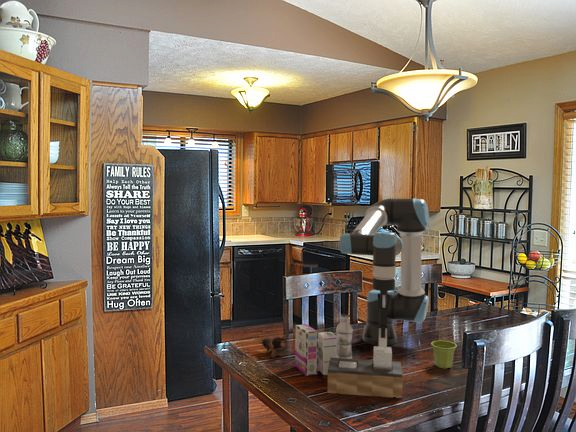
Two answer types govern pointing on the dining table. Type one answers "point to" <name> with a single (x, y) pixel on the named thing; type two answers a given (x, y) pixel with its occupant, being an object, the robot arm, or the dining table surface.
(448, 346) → the plant pot
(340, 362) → the seated peg
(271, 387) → the dining table surface
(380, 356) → the peg
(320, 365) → the syrup box
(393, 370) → the socket block
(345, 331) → the plastic bottle
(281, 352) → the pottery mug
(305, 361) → the candy bar box
